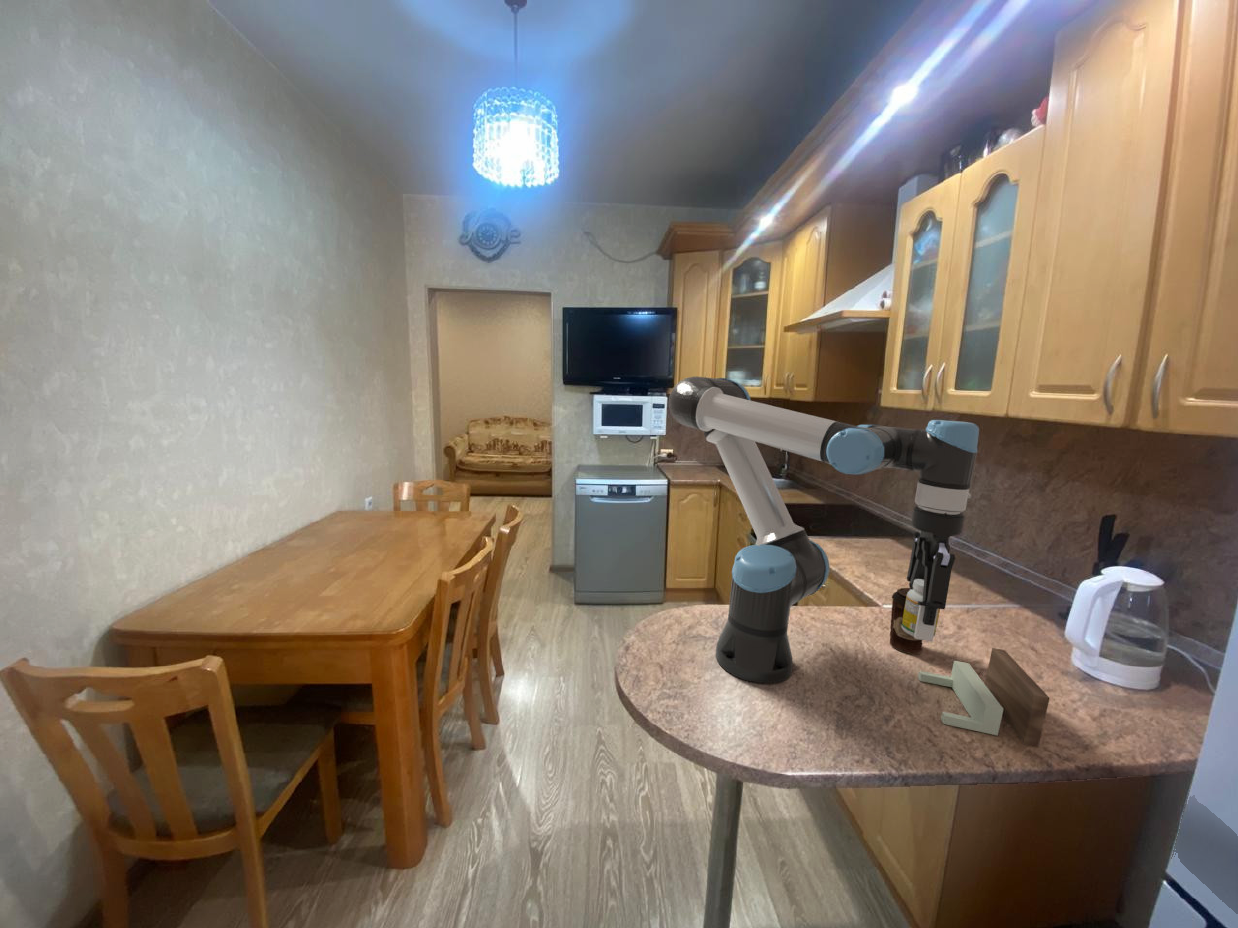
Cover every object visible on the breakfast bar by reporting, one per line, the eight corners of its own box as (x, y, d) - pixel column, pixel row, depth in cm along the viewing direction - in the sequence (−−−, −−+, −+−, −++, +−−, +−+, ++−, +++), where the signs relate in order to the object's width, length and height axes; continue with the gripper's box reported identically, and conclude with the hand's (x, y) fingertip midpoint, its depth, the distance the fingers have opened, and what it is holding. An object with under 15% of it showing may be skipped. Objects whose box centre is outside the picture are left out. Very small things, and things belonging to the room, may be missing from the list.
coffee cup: (934, 661, 102) (945, 604, 100) (892, 654, 104) (901, 599, 102) (918, 640, 111) (927, 587, 109) (879, 634, 112) (887, 582, 110)
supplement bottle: (914, 640, 85) (923, 589, 83) (894, 624, 90) (902, 576, 89) (942, 640, 86) (951, 589, 84) (920, 625, 91) (929, 577, 89)
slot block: (943, 723, 83) (948, 697, 82) (918, 677, 96) (922, 654, 95) (997, 735, 80) (1003, 708, 80) (964, 686, 94) (968, 663, 93)
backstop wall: (1023, 743, 79) (1034, 694, 78) (983, 690, 93) (992, 647, 92) (1038, 747, 78) (1049, 697, 77) (995, 692, 93) (1004, 649, 91)
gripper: (987, 525, 74) (960, 662, 78) (944, 500, 92) (924, 612, 96) (932, 519, 76) (909, 652, 80) (901, 495, 94) (883, 605, 98)
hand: (917, 630), depth 88 cm, fingers closed on supplement bottle, 5 cm apart
